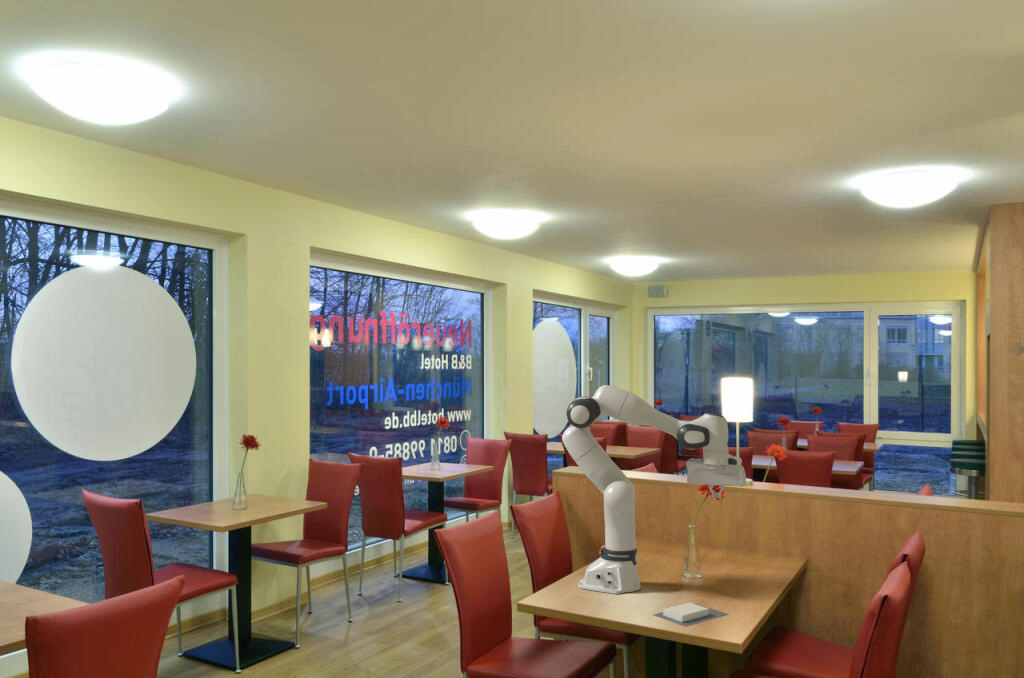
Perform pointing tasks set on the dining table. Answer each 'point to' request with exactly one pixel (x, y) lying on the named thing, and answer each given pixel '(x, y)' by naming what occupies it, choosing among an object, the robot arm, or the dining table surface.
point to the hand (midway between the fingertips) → (716, 498)
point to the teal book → (685, 612)
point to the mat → (712, 615)
